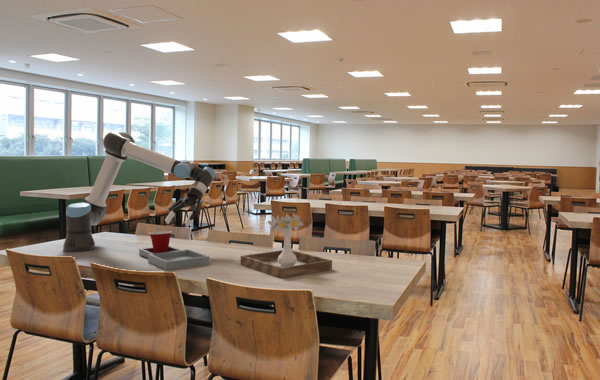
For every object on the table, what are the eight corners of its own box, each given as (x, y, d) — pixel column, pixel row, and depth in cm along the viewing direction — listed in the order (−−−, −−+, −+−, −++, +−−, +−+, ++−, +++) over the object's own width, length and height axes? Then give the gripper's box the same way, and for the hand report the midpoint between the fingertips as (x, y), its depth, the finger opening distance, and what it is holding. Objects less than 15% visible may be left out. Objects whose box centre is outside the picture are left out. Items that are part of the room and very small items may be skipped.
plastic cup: (165, 252, 248) (164, 229, 248) (176, 255, 241) (176, 231, 240) (145, 255, 241) (144, 231, 240) (155, 259, 233) (155, 233, 232)
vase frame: (240, 264, 224) (240, 255, 223) (288, 257, 241) (288, 249, 240) (281, 278, 199) (282, 268, 199) (331, 269, 216) (332, 260, 216)
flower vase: (276, 262, 230) (276, 211, 228) (309, 266, 221) (310, 214, 219) (261, 267, 219) (261, 214, 217) (295, 272, 210) (296, 216, 209)
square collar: (139, 254, 242) (139, 248, 242) (168, 251, 252) (168, 245, 251) (151, 260, 230) (151, 254, 230) (182, 256, 240) (182, 250, 239)
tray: (148, 261, 227) (148, 254, 227) (188, 256, 240) (188, 249, 239) (166, 270, 211) (166, 262, 211) (209, 264, 224) (209, 256, 223)
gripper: (218, 197, 256) (198, 230, 245) (183, 195, 269) (162, 225, 257) (211, 188, 251) (190, 220, 240) (176, 186, 264) (154, 216, 252)
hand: (176, 223), depth 248 cm, fingers open, 13 cm apart
